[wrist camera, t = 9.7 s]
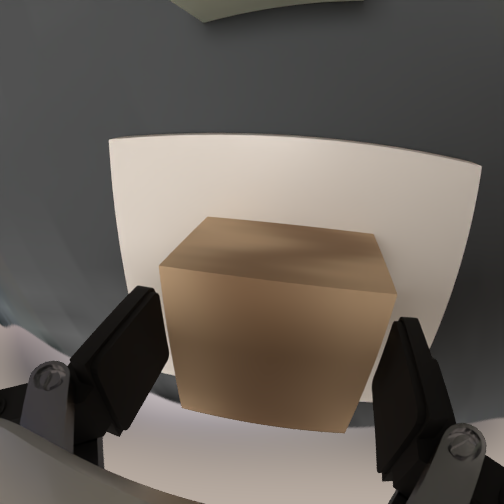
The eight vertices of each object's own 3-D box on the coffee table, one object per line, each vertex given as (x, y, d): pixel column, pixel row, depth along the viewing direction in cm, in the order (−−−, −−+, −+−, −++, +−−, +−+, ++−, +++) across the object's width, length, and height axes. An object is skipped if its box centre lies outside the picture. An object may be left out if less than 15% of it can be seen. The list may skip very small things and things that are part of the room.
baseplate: (470, 161, 9) (481, 166, 9) (400, 388, 15) (403, 402, 14) (122, 136, 12) (108, 139, 11) (153, 356, 17) (146, 368, 16)
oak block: (373, 234, 11) (397, 294, 7) (343, 360, 13) (344, 433, 10) (207, 216, 11) (158, 265, 8) (212, 342, 14) (181, 407, 10)
